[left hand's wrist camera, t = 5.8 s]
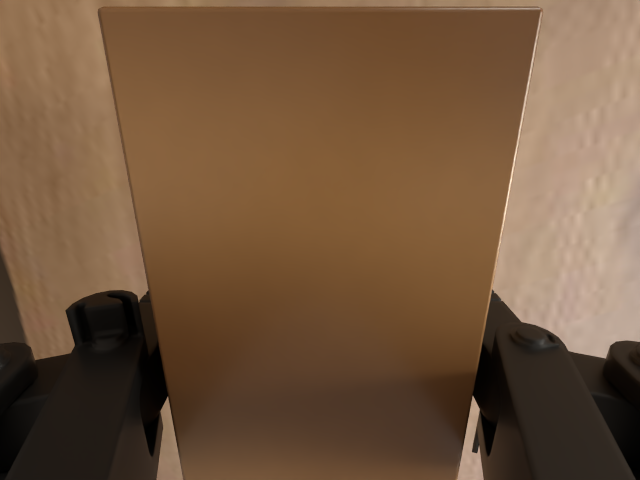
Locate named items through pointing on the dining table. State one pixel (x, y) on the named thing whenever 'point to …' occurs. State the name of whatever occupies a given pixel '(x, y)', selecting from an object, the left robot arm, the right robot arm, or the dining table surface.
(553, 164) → the dining table surface
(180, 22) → the beam
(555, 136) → the dining table surface
